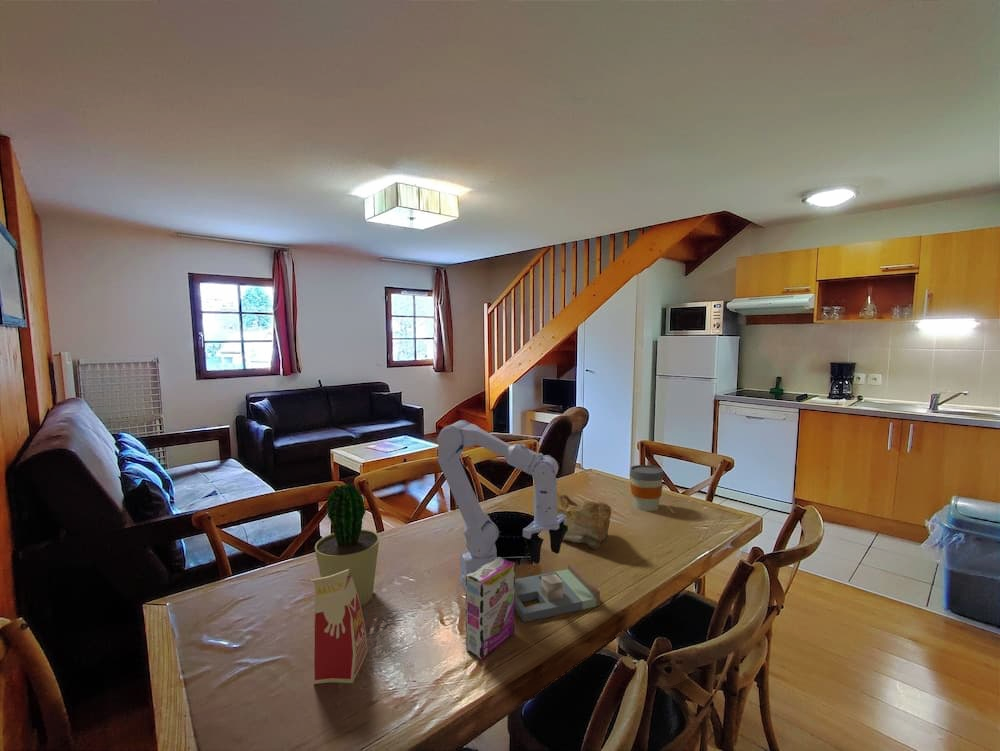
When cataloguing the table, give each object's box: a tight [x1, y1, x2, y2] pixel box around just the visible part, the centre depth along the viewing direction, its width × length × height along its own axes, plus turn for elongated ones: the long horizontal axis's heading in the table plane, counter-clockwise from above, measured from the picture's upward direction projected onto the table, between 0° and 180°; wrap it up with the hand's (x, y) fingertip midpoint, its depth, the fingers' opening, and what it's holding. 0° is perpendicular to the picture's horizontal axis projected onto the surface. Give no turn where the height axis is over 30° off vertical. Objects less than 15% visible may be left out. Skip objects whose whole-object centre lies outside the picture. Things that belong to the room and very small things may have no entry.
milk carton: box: [310, 569, 369, 685], centre depth 88 cm, size 9×9×20 cm
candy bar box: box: [465, 556, 516, 660], centre depth 95 cm, size 11×5×16 cm, turn 141°
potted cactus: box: [314, 482, 380, 607], centre depth 112 cm, size 15×15×30 cm
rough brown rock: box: [557, 492, 612, 550], centre depth 146 cm, size 23×17×15 cm
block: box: [541, 574, 563, 601], centre depth 110 cm, size 4×4×4 cm
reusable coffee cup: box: [629, 464, 664, 512], centre depth 174 cm, size 13×13×15 cm
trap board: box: [514, 563, 601, 623], centre depth 112 cm, size 20×15×4 cm
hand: (545, 557), depth 114 cm, fingers open, 7 cm apart
